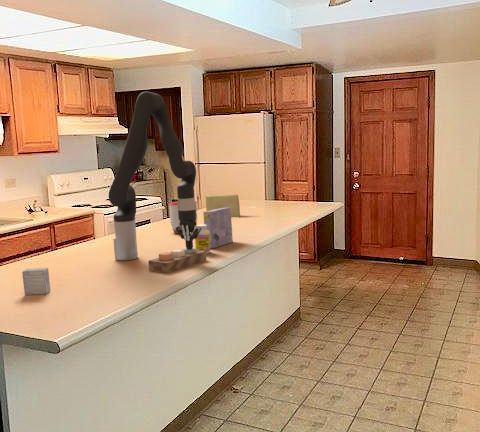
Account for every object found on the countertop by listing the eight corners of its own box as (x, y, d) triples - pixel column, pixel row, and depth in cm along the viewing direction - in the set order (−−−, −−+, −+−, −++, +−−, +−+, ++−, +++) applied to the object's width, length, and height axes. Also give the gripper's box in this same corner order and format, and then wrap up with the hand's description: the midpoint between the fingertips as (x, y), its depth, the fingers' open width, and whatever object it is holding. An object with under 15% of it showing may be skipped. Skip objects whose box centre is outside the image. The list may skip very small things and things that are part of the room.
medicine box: (51, 290, 195) (48, 267, 193) (47, 294, 190) (44, 270, 189) (28, 292, 194) (26, 268, 193) (24, 295, 190) (21, 271, 189)
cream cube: (178, 261, 222) (177, 251, 221) (171, 260, 224) (170, 251, 223) (185, 259, 225) (184, 250, 224) (177, 258, 227) (177, 249, 227)
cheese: (242, 216, 355) (241, 193, 353) (236, 218, 347) (235, 195, 344) (212, 215, 364) (211, 193, 362) (206, 218, 355) (204, 195, 353)
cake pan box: (226, 241, 273) (224, 206, 270) (234, 241, 270) (232, 206, 268) (204, 248, 257) (202, 211, 254) (213, 249, 254) (211, 212, 251)
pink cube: (166, 264, 216) (165, 254, 215) (159, 263, 218) (158, 254, 218) (173, 262, 219) (172, 252, 219) (166, 261, 222) (165, 252, 221)
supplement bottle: (197, 255, 243) (195, 226, 241) (194, 252, 249) (192, 224, 247) (211, 253, 245) (210, 225, 243) (208, 250, 251) (207, 223, 249)
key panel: (166, 273, 212) (166, 263, 212) (149, 270, 218) (148, 260, 218) (206, 260, 231) (205, 251, 231) (188, 258, 237) (188, 249, 237)
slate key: (189, 259, 227) (189, 250, 227) (182, 258, 230) (182, 249, 229) (196, 257, 230) (195, 248, 230) (189, 256, 233) (188, 247, 232)
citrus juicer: (187, 236, 291) (185, 199, 288) (164, 233, 302) (162, 198, 299) (206, 231, 303) (204, 196, 301) (184, 229, 314) (181, 195, 311)
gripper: (204, 208, 226) (207, 248, 229) (181, 206, 234) (183, 246, 236) (192, 210, 220) (195, 252, 223) (169, 209, 228) (172, 249, 230)
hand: (189, 249), depth 229 cm, fingers closed
